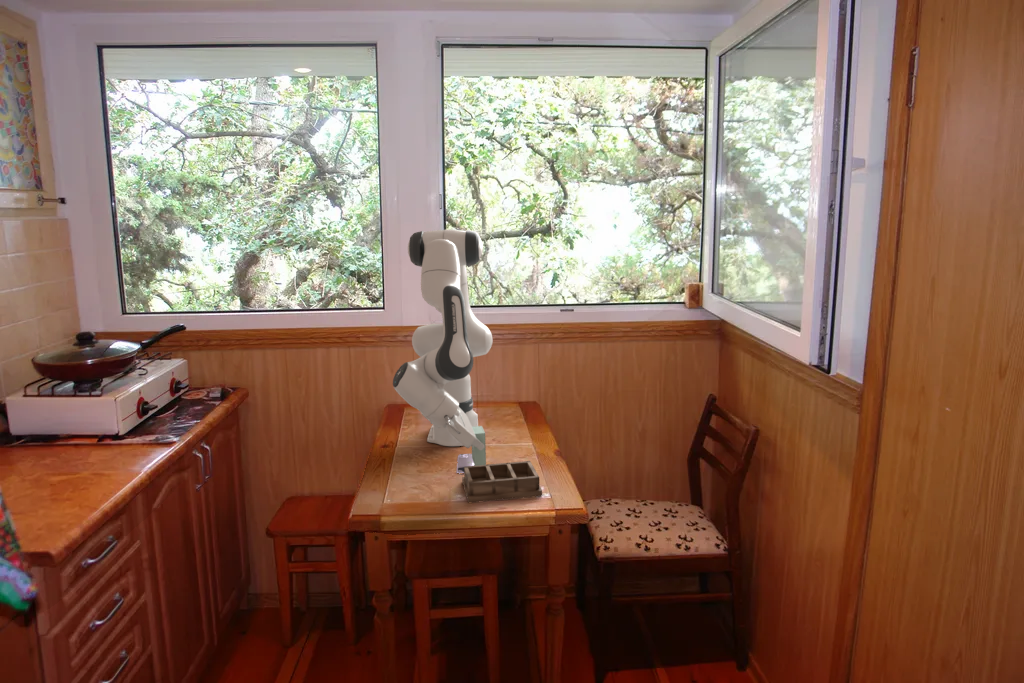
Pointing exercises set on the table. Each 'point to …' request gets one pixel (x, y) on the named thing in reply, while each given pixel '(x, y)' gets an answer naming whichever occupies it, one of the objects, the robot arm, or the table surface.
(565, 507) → the table surface
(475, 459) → the sage block
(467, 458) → the mobile phone
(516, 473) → the walnut rack
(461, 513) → the table surface
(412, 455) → the table surface
